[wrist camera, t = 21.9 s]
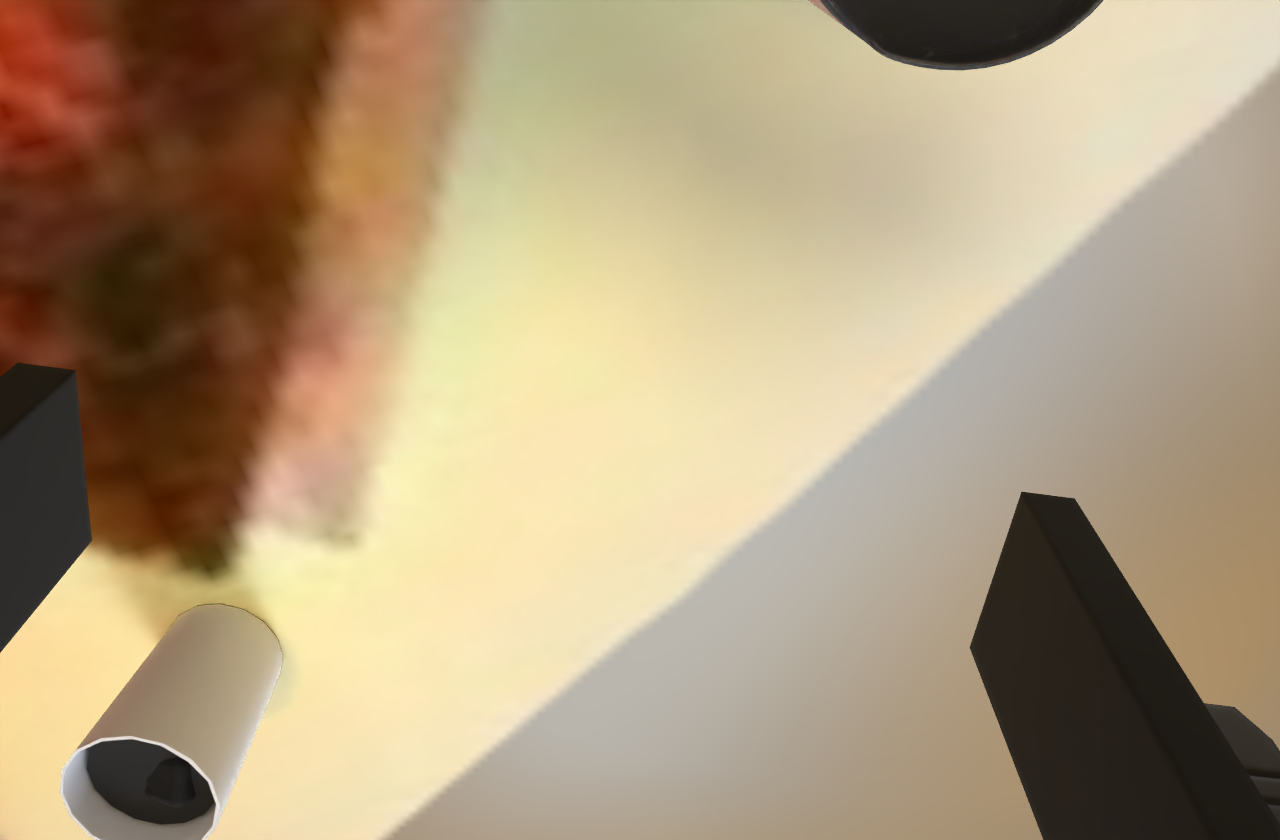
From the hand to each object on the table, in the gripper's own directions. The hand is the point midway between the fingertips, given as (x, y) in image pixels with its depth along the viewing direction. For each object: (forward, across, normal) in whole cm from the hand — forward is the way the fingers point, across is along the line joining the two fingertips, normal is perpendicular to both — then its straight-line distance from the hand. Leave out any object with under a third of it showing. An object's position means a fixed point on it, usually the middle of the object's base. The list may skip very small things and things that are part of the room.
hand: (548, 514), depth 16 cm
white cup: (+31, -16, -30) cm, 46 cm away
